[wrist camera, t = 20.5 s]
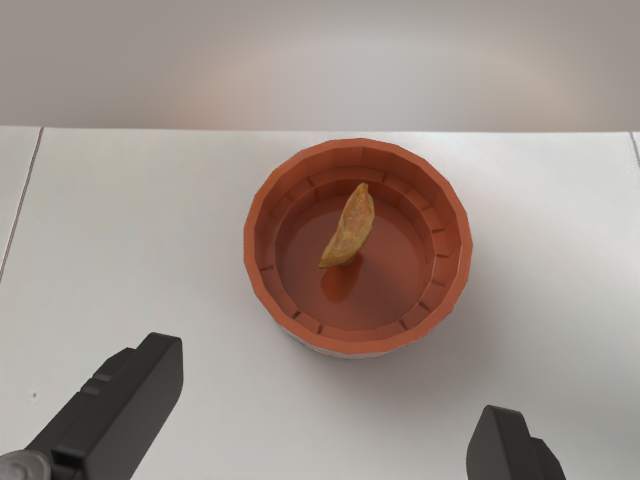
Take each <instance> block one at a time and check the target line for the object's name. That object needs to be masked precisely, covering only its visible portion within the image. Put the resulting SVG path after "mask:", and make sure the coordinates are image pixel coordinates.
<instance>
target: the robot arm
mask: <svg viewBox="0 0 640 480" xmlns="http://www.w3.org/2000/svg"><path fill="white" fill-rule="evenodd" d="M182 387H183V351H182V340H181V338H179V337H174V336H169V335H165V334H160V333H155V332H152V333H150V334H149V335H148V336H147V337H146V338H145V339H144V340H143V341H142V343H141V344H140V345H139V346H138V347H137V348H136V349H132V348H128V347H127V348H125V349H124V350H122V351H120V352H119V353H117V354H115V355H114V356H112V357H110V358H109V359H107V360H106V361H105V362H104V363H103V365H102V366H101V367H100V368H99V369H98V370H97V371H96V372H95V373H94V374H93V377H92V378H90V379H89V380H88V381H87V382H86V383H85V384H84V385H83V386H82V387H81V390H80V392H77V393H76V394H75V395H74V396H73V397H72V398H71V399H70V400H69V402H68V403H67V404H66V405H65V406H64V407H63V408H62V409H61V410H60V411H59V412H58V414H57V415H56V416H55V417H54V418H53V419H52V420H51V421H50V422H49V423H48V424H47V426H46V427H45V428H44V429H43V430H42V431H41V432H40V433H39V434H38V435H37V436H36V438H35V439H34V440H33V441H32V442H31V443H30V444H29V445H28V446H27V447H26V448H25V449H23V450H18V451H13V452H10V453H7V454H4V455H2V456H0V480H130V478H131V477H132V475H133V474H134V472H135V470H136V469H137V467H138V465H139V464H140V462H141V460H142V459H143V457H144V456H145V454H146V452H147V451H148V449H149V447H150V446H151V444H152V442H153V441H154V439H155V437H156V436H157V434H158V433H159V431H160V429H161V428H162V426H163V424H164V423H165V421H166V419H167V418H168V416H169V415H170V413H171V411H172V410H173V408H174V406H175V405H176V403H177V401H178V399H179V397H180V394H181V391H182ZM466 468H467V475H468V480H566V478H565V475H564V473H563V470H562V468H561V465H560V463H559V461H558V459H557V458H556V457H555V456H554V454H553V453H552V452H551V450H550V449H549V448H548V447H547V445H546V444H545V443H544V441H543V440H542V439H538V438H533V437H531V436H530V434H529V431H528V428H527V425H526V422H525V419H524V417H523V415H522V414H521V412H519V411H515V410H510V409H506V408H501V407H496V406H492V405H487V406H486V407H485V408H484V410H483V412H482V415H481V417H480V419H479V422H478V424H477V426H476V429H475V431H474V433H473V436H472V438H471V440H470V443H469V445H468V450H467V457H466Z"/></svg>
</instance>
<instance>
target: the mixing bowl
mask: <svg viewBox="0 0 640 480" xmlns="http://www.w3.org/2000/svg"><path fill="white" fill-rule="evenodd" d="M362 183H365V184H367V185H368V194H369V195H371V196H372V198H373V203H374V220H373V222H372V226H373V229H372V230H371V231H370V232H369V234H370V236H369V238H368V239H367V241H366V243H365V244H364V246H363V247H362V248H361V249H360V251H359V254H358V256H357V257H356V259H355V260H354V262H353V263H352V264H351V265H350V266H349V267H339V266H334V267H330V268H324V269H319V268H318V265H319V264H320V262H321V260H322V259H321V258H322V255H323V253H324V251H325V249H326V247H327V246H328V245H329V243H330V241H331V239H332V237H333V236H334V235H335V233H336V232H337V228H338V224H339V221H340V218H341V216H342V213H343V210H344V208H345V205H346V203H347V201H348V199H349V198H350V196H351V195H352V194H353V193H354V191H355V190H356V189H357V187H358V186H359V185H360V184H362ZM472 245H473V243H472V238H471V233H470V228H469V223H468V218H467V213H466V211H465V209H464V207H463V206H462V204H461V202H460V200H459V199H458V197H457V195H456V193H455V192H454V190H453V188H452V186H451V184H450V183H449V182H448V181H447V180H446V179H445V178H444V177H443V176H442V175H441V174H440V173H439V172H438V171H437V170H436V169H435V168H434V167H433V166H431V165H430V164H429V163H428V162H427V161H426V160H425V159H423V158H421V157H419V156H417V155H415V154H413V153H411V152H409V151H407V150H405V149H404V148H402V147H400V146H398V145H395V144H390V143H385V142H380V141H375V140H370V139H365V138H355V139H341V140H331V141H327V142H324V143H321V144H318V145H316V146H313V147H310V148H307V149H305V150H302V151H300V152H298V153H297V154H295V155H294V156H293V157H291V158H290V159H289V160H287V161H286V162H284V163H283V164H282V165H280V166H279V167H278V168H276V169H275V170H274V171H273V172H272V173H271V174H270V176H269V177H268V178H267V180H266V181H265V183H264V184H263V185H262V187H261V188H260V189H259V191H258V192H257V193H256V195H255V197H254V199H253V202H252V205H251V208H250V211H249V214H248V216H247V219H246V222H245V225H244V264H245V266H246V269H247V272H248V275H249V278H250V281H251V284H252V287H253V289H254V292H255V294H256V296H257V298H258V299H259V300H260V301H261V303H262V304H263V305H264V306H265V308H266V309H267V310H268V312H269V313H270V314H271V315H272V317H273V318H274V319H275V320H276V322H277V323H278V324H279V325H280V326H281V327H282V328H283V329H284V331H285V332H286V333H287V334H289V335H290V336H292V337H293V338H295V339H296V340H298V341H299V342H301V343H302V344H304V345H305V346H307V347H308V348H310V349H311V350H313V351H315V352H319V353H323V354H326V355H330V356H334V357H338V358H342V359H360V358H375V357H380V356H382V355H384V354H387V353H389V352H392V351H394V350H396V349H399V348H401V347H403V346H406V345H408V344H410V343H412V342H414V341H416V340H418V339H420V338H422V337H424V336H425V335H426V334H427V333H428V332H430V331H431V330H432V329H433V328H434V327H435V326H436V325H437V324H438V323H439V322H441V321H442V320H443V319H444V318H445V317H446V316H447V315H448V314H449V313H450V312H451V311H452V309H453V307H454V306H455V304H456V302H457V300H458V298H459V296H460V294H461V292H462V290H463V289H464V287H465V285H466V283H467V281H468V276H469V269H470V262H471V255H472V248H473V246H472Z"/></svg>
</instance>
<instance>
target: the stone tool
mask: <svg viewBox="0 0 640 480" xmlns="http://www.w3.org/2000/svg"><path fill="white" fill-rule="evenodd" d="M373 220H374V203H373V198H372V196H371V195H369V194H368V185H367V184H365V183H362V184H360V185H359V186H358V187H357V189H356V190H355V191H354V193H353V194H352V195H351V196H350V198H349V199H348V201H347V203H346V205H345V208H344V210H343V213H342V216H341V218H340V221H339V224H338V228H337V232H336V233H335V235H334V236H333V237H332V239H331V241H330V243H329V245H328V246H327V247H326V249H325V251H324V253H323V255H322V258H321V259H322V260H321V262H320V264H319V265H318V268H319V269H324V268H330V267H334V266H339V267H349V266H350V265H351V264H352V263H353V262H354V260H355V259H356V257H357V256H358V254H359V251H360V249H361V248H362V247H363V246H364V244H365V243H366V241H367V239H368V238H369V236H370V234H369V232H370V231H371V230H372V229H373V226H372V222H373Z"/></svg>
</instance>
